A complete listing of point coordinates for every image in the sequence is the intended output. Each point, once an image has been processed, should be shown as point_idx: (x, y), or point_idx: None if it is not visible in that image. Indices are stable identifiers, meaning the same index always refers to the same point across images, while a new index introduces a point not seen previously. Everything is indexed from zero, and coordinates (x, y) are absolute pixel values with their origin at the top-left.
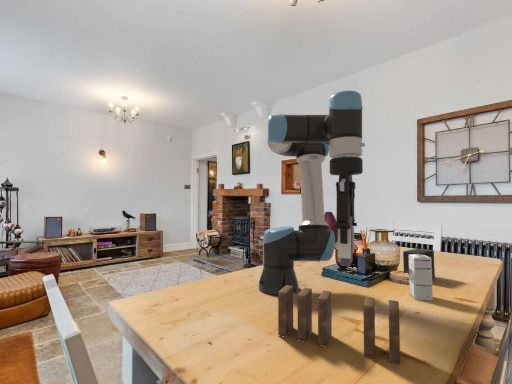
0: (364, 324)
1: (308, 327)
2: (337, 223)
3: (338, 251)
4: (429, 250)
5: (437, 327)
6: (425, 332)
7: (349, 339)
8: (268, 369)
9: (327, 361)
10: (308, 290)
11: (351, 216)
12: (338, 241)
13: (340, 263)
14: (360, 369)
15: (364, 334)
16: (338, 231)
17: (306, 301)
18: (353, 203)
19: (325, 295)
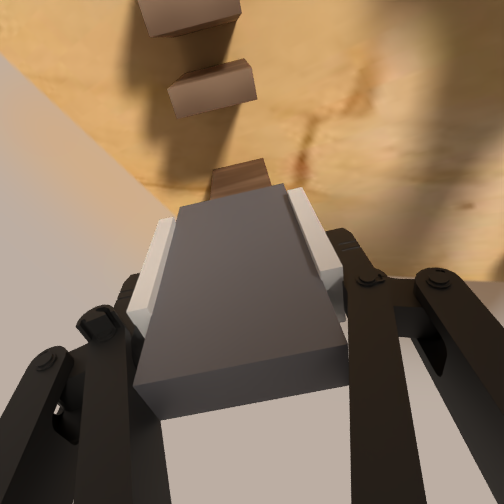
0: (210, 195)
1: (199, 29)
2: (31, 372)
3: (154, 236)
4: None
5: (400, 243)
6: (368, 231)
7: (257, 124)
8: (12, 22)
9: (144, 120)
10: (213, 11)
11: (297, 394)
12: (145, 264)
13: (179, 210)
14: (168, 177)
15: (211, 186)
16: (132, 302)
17: (165, 34)
18: (498, 499)
19: (207, 99)
